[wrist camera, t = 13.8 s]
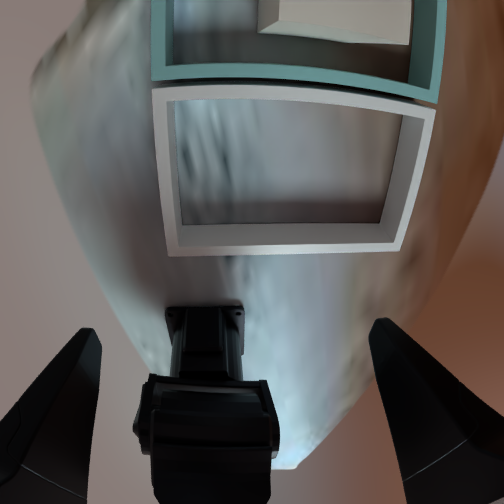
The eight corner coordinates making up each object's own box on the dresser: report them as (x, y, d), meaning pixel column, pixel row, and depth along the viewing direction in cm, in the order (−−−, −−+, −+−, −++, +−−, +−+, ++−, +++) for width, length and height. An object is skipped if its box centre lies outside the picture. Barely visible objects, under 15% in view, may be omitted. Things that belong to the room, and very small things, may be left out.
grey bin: (385, 231, 22) (399, 251, 20) (172, 234, 21) (168, 256, 19) (414, 101, 16) (436, 110, 14) (161, 83, 15) (151, 89, 13)
